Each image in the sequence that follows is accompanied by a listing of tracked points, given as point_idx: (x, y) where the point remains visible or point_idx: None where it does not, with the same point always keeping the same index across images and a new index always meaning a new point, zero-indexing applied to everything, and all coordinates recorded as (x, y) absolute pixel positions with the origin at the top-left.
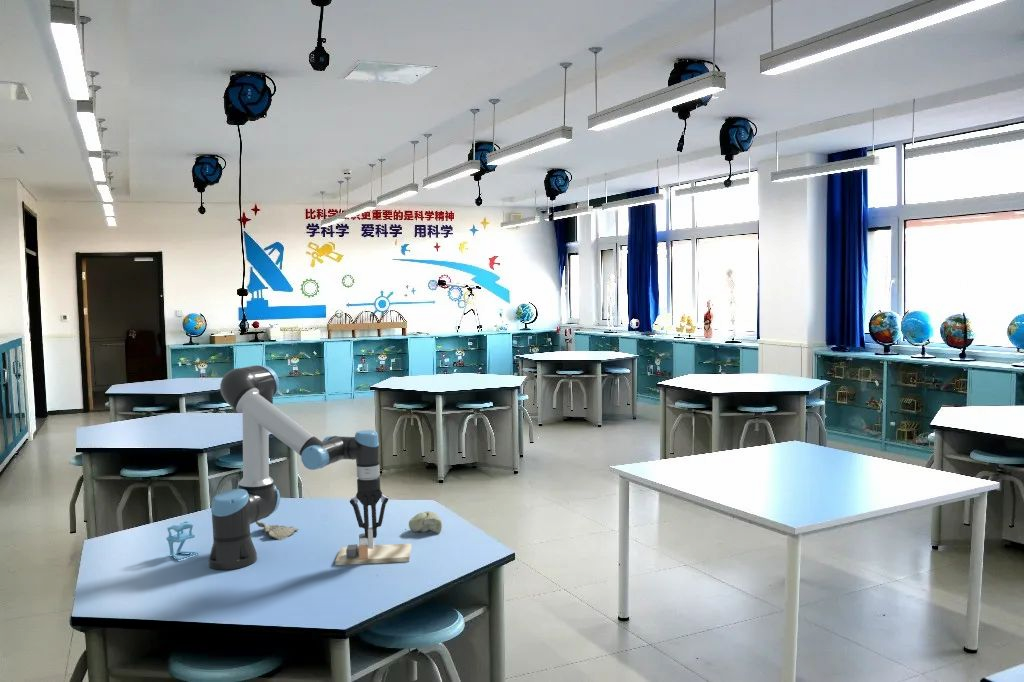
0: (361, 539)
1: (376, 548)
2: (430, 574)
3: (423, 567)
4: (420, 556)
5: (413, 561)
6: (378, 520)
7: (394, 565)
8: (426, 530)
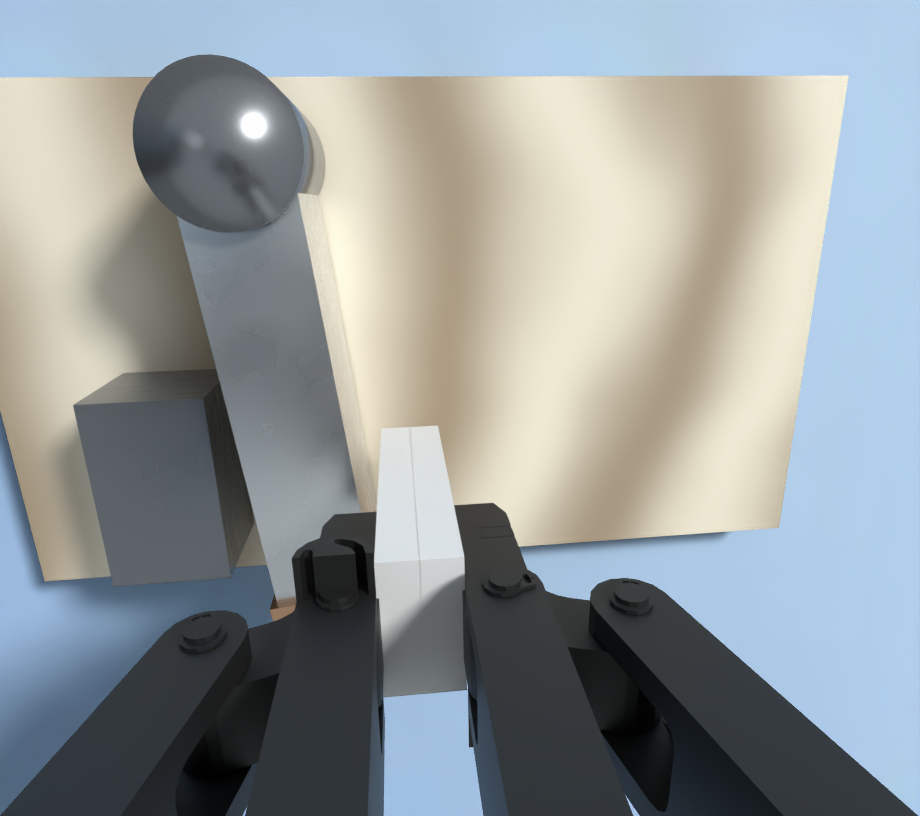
0: (234, 337)
1: (431, 220)
2: (878, 757)
3: (852, 637)
4: (866, 384)
5: (791, 506)
6: (639, 812)
7: None
8: None
